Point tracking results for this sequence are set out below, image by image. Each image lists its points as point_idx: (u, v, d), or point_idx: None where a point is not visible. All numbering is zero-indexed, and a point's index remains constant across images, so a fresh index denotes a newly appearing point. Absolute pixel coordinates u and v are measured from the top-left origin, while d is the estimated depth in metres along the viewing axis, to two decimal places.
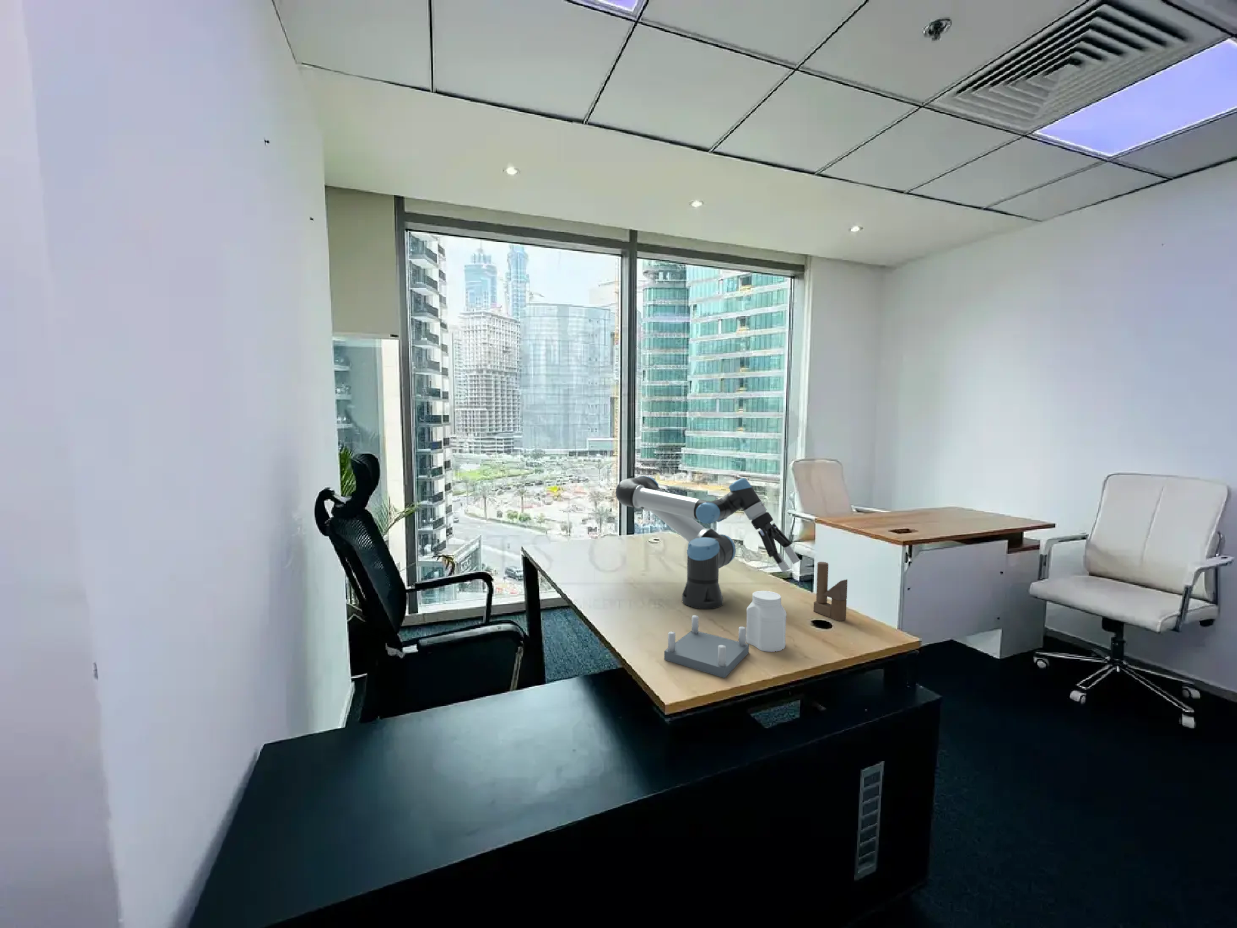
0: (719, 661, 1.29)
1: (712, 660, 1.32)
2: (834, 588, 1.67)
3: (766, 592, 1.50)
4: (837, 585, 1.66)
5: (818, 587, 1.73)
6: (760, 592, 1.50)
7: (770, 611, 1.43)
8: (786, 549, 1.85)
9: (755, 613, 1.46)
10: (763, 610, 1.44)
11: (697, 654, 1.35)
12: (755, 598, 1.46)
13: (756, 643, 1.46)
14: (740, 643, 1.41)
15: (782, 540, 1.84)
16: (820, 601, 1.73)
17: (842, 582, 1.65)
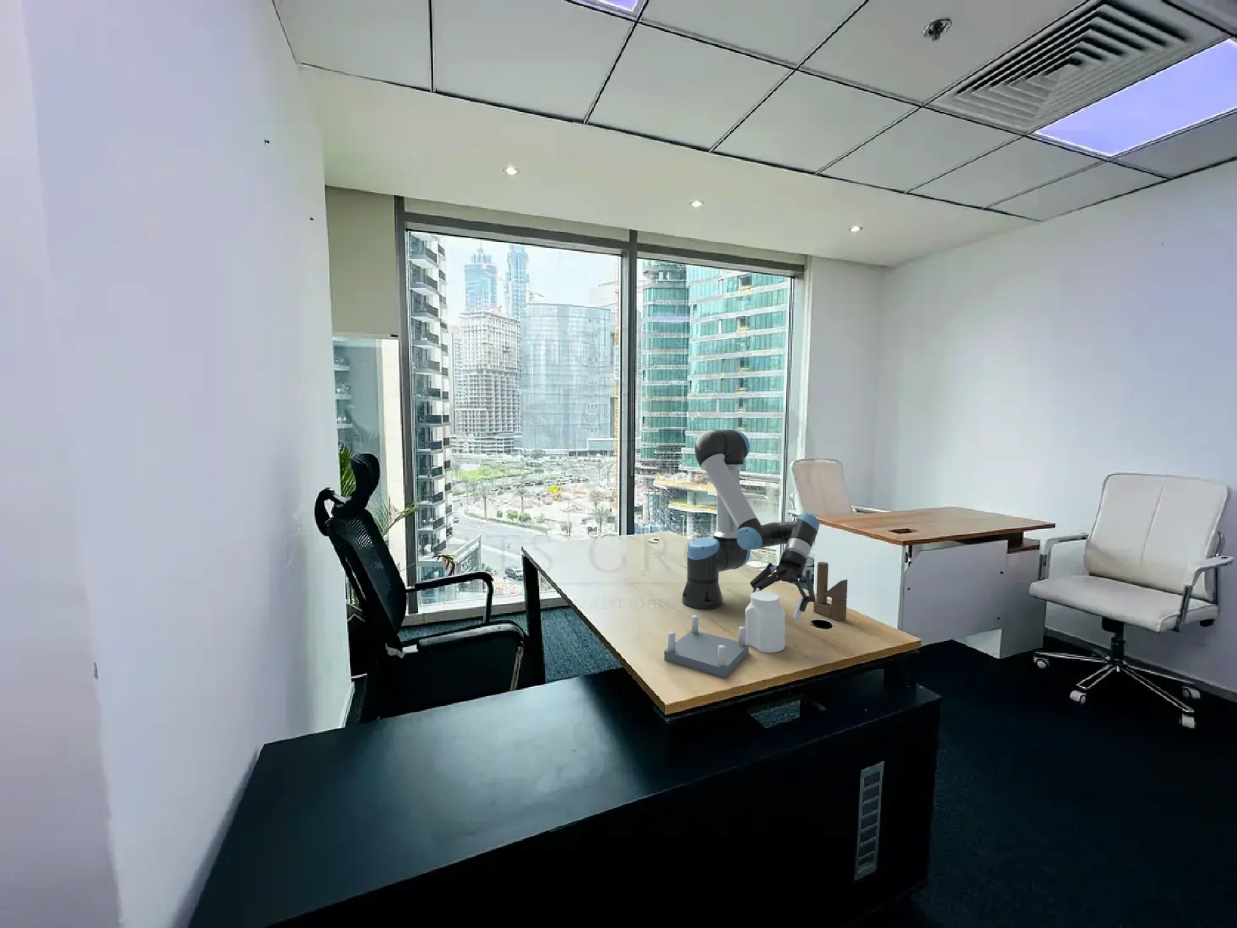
0: (719, 661, 1.29)
1: (712, 660, 1.32)
2: (834, 588, 1.67)
3: (764, 592, 1.49)
4: (837, 585, 1.66)
5: (818, 587, 1.73)
6: (758, 593, 1.49)
7: (769, 612, 1.42)
8: None
9: (754, 614, 1.45)
10: (763, 612, 1.42)
11: (697, 654, 1.35)
12: (754, 600, 1.45)
13: (756, 645, 1.45)
14: (740, 643, 1.41)
15: (768, 585, 1.56)
16: (820, 601, 1.73)
17: (842, 582, 1.65)
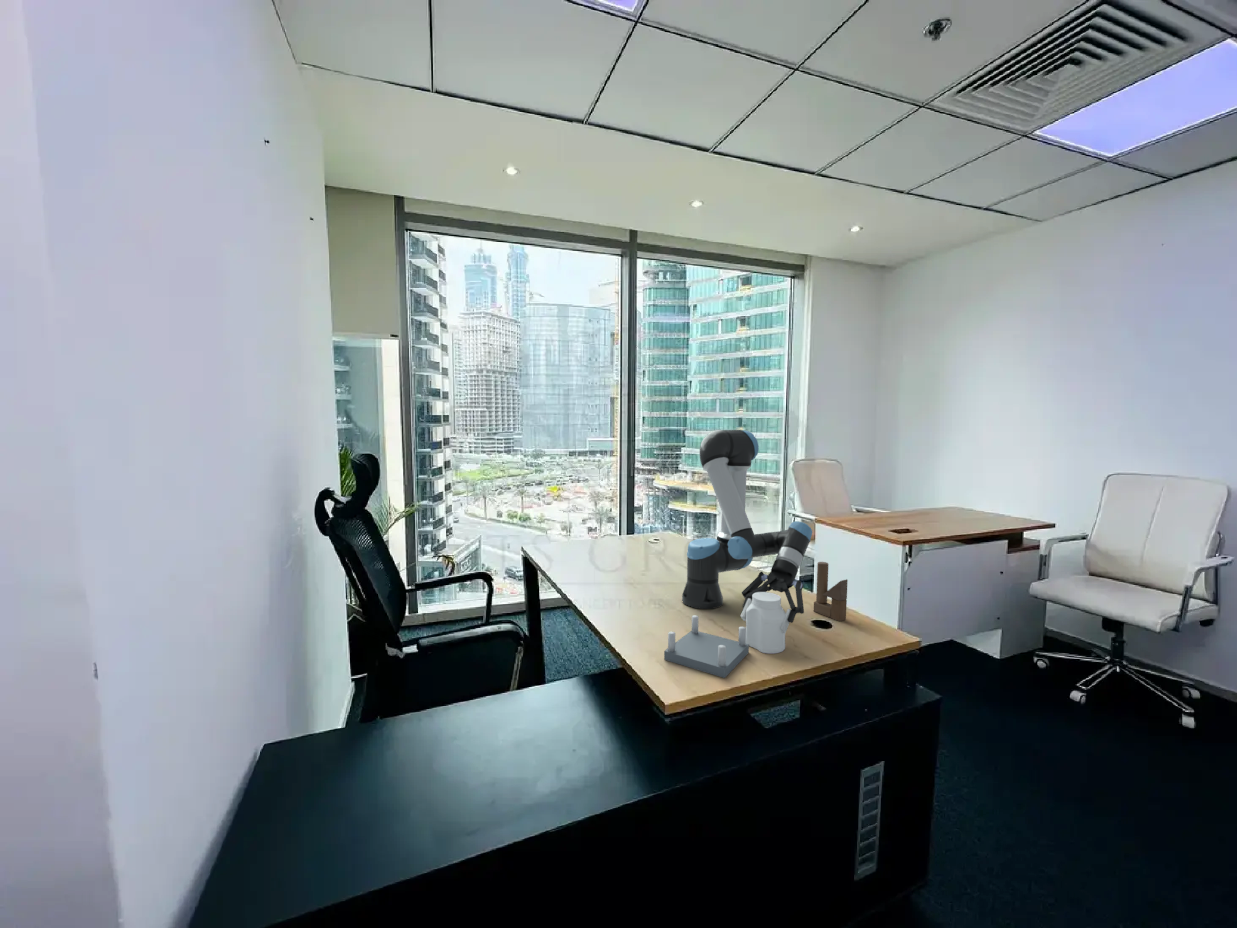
0: (719, 661, 1.29)
1: (712, 660, 1.32)
2: (834, 588, 1.67)
3: (765, 593, 1.49)
4: (837, 585, 1.66)
5: (818, 587, 1.73)
6: (759, 593, 1.49)
7: (771, 613, 1.42)
8: (750, 601, 1.53)
9: (756, 615, 1.44)
10: (765, 612, 1.42)
11: (697, 654, 1.35)
12: (756, 600, 1.44)
13: (757, 645, 1.44)
14: (740, 643, 1.41)
15: None
16: (820, 601, 1.73)
17: (842, 582, 1.65)
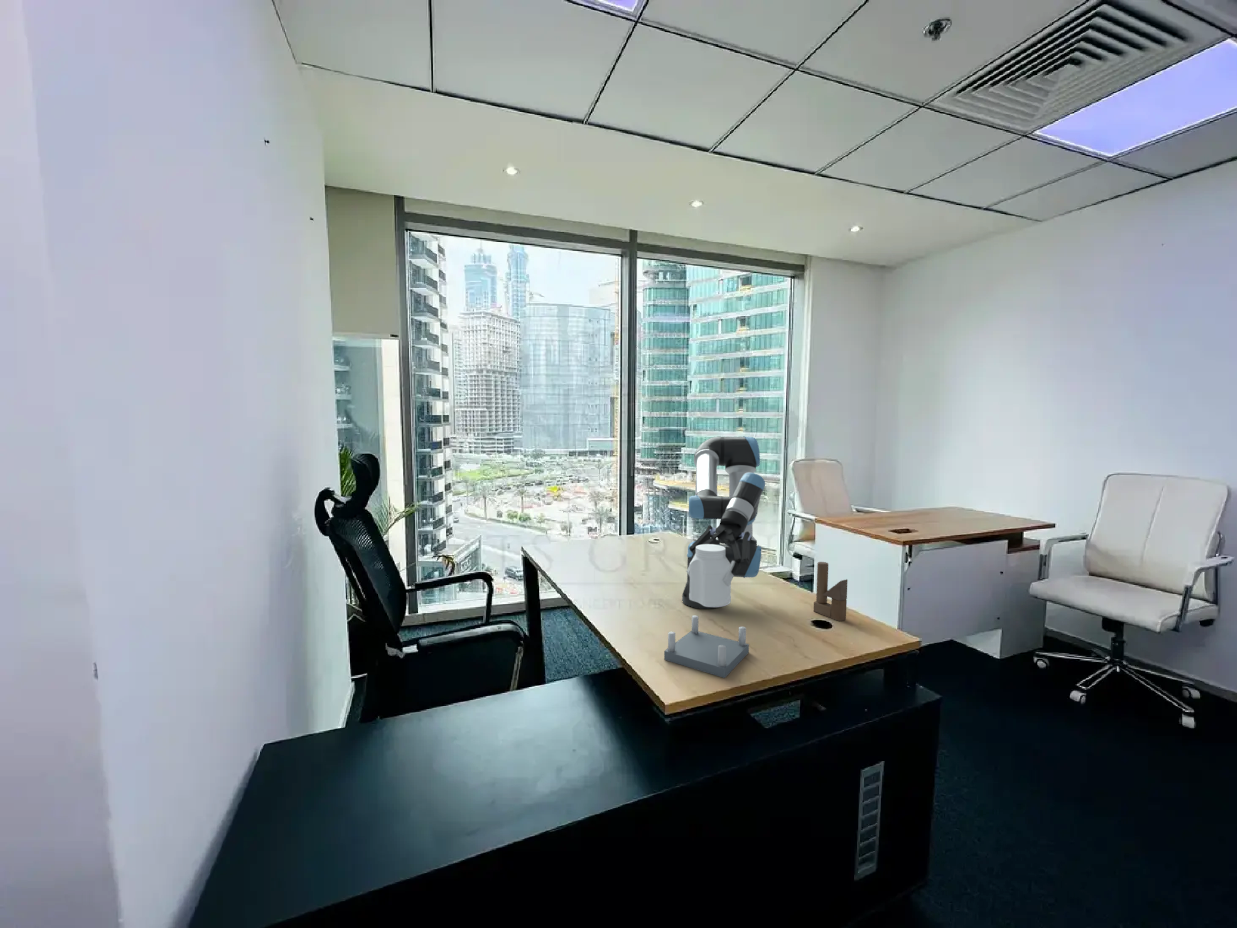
0: (719, 661, 1.29)
1: (712, 660, 1.32)
2: (834, 588, 1.67)
3: (710, 545, 1.40)
4: (837, 585, 1.66)
5: (818, 587, 1.73)
6: (704, 545, 1.39)
7: (714, 563, 1.33)
8: None
9: (698, 567, 1.35)
10: (707, 563, 1.33)
11: (697, 654, 1.35)
12: (698, 551, 1.35)
13: (700, 599, 1.35)
14: (740, 643, 1.41)
15: None
16: (820, 601, 1.73)
17: (842, 582, 1.65)
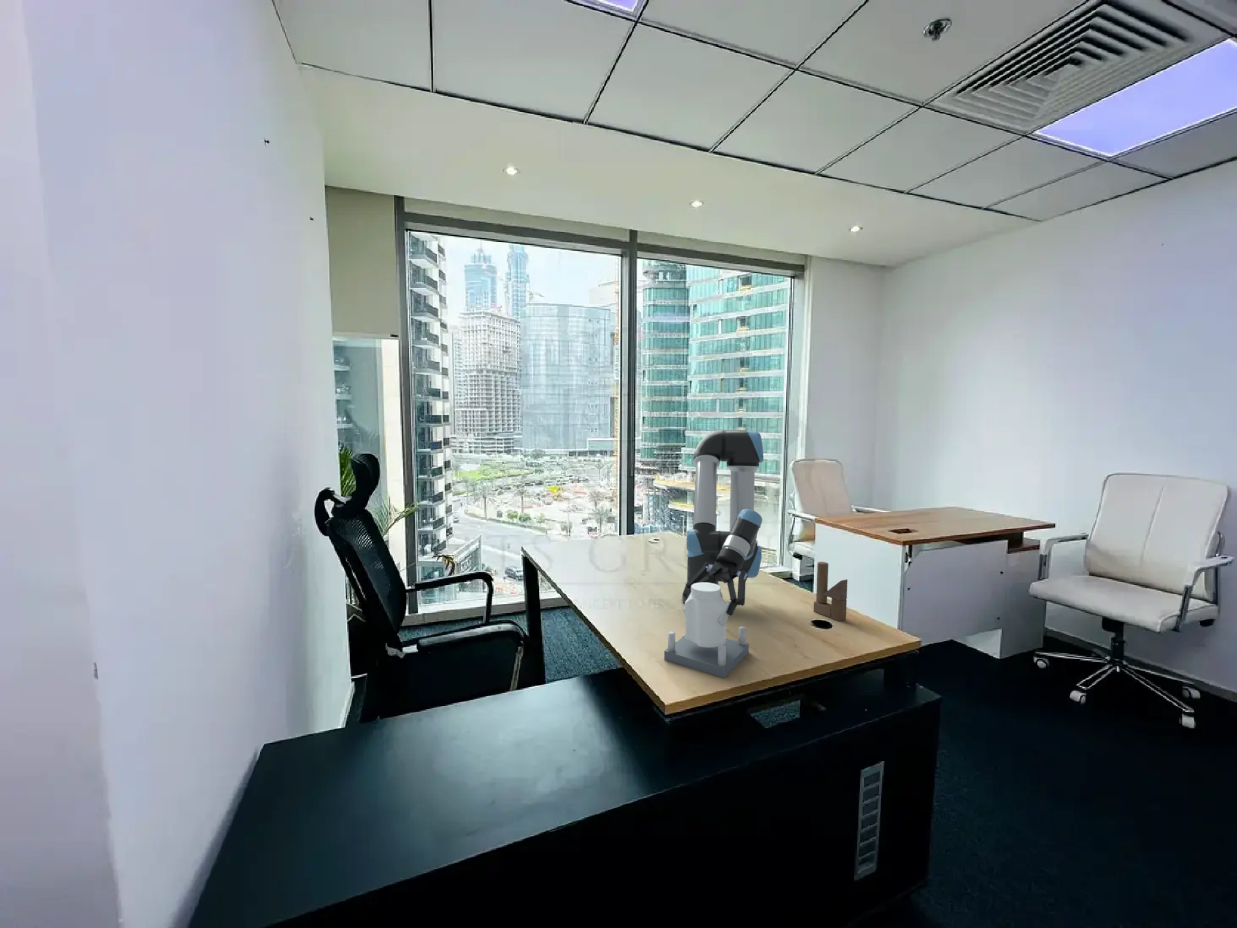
0: (719, 661, 1.29)
1: (712, 660, 1.32)
2: (834, 588, 1.67)
3: (706, 583, 1.40)
4: (837, 585, 1.66)
5: (818, 587, 1.73)
6: (699, 584, 1.40)
7: (709, 603, 1.33)
8: None
9: (694, 606, 1.35)
10: (702, 603, 1.33)
11: (697, 654, 1.35)
12: (693, 590, 1.36)
13: (695, 639, 1.35)
14: (740, 643, 1.41)
15: None
16: (820, 601, 1.73)
17: (842, 582, 1.65)
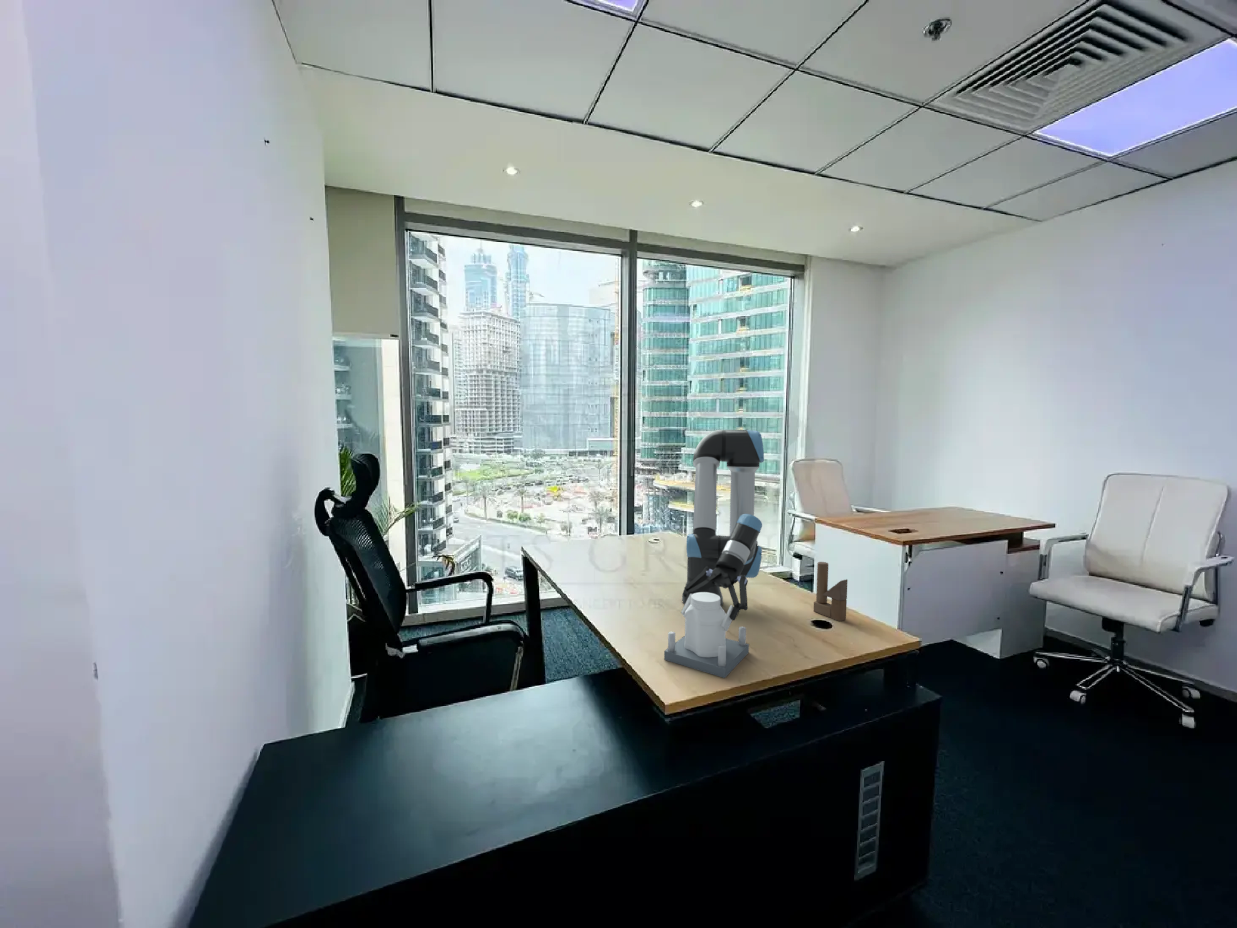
0: (719, 661, 1.29)
1: (712, 660, 1.32)
2: (834, 588, 1.67)
3: (706, 593, 1.41)
4: (837, 585, 1.66)
5: (818, 587, 1.73)
6: (699, 594, 1.41)
7: (708, 614, 1.34)
8: None
9: (693, 616, 1.36)
10: (701, 613, 1.34)
11: None
12: (693, 600, 1.37)
13: (694, 648, 1.36)
14: (740, 643, 1.41)
15: (702, 590, 1.46)
16: (820, 601, 1.73)
17: (842, 582, 1.65)
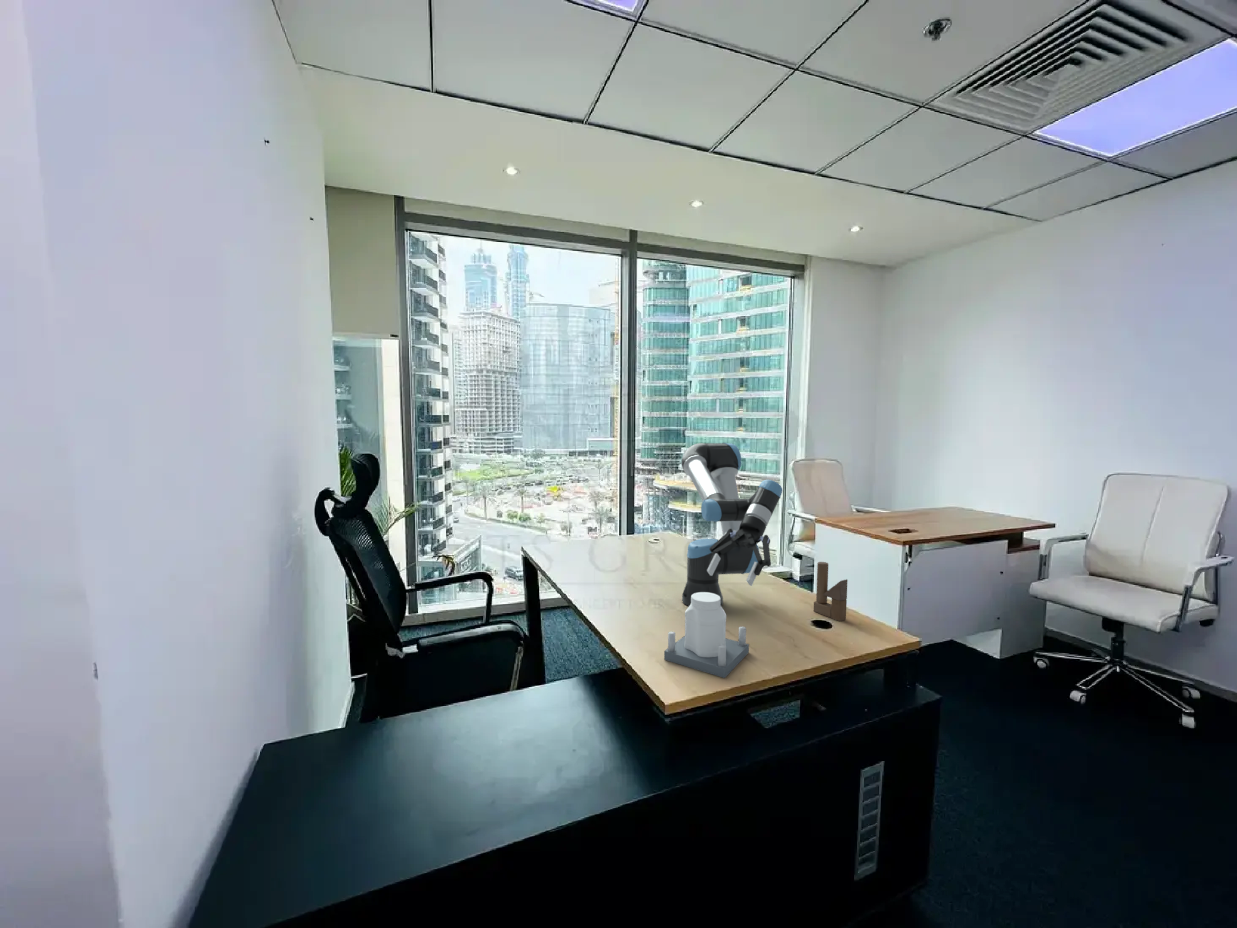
0: (719, 661, 1.29)
1: (712, 660, 1.32)
2: (834, 588, 1.67)
3: (706, 593, 1.41)
4: (837, 585, 1.66)
5: (818, 587, 1.73)
6: (699, 594, 1.41)
7: (708, 614, 1.34)
8: (717, 557, 1.53)
9: (693, 616, 1.36)
10: (702, 613, 1.34)
11: None
12: (693, 600, 1.37)
13: (694, 648, 1.36)
14: (740, 643, 1.41)
15: (727, 550, 1.54)
16: (820, 601, 1.73)
17: (842, 582, 1.65)
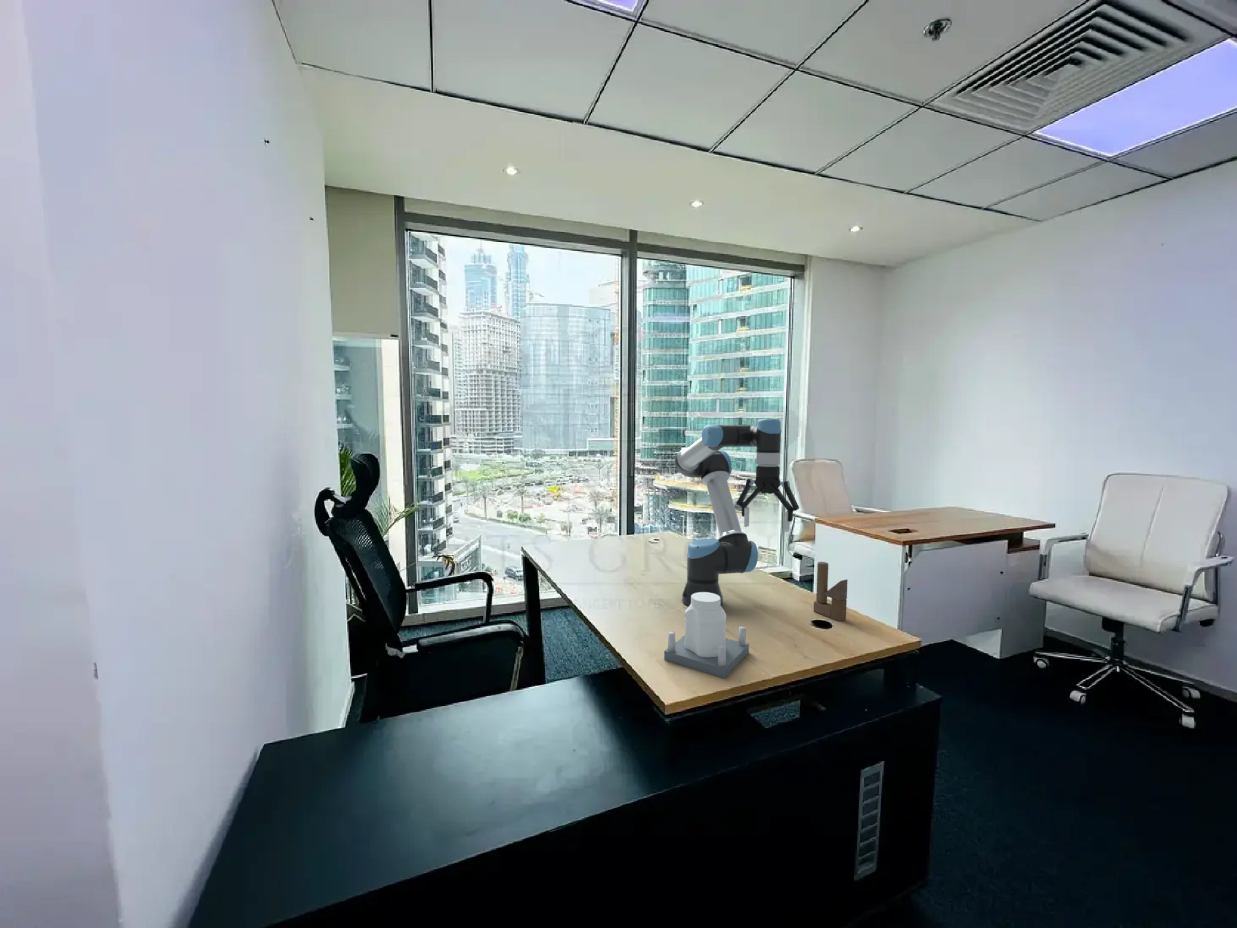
0: (719, 661, 1.29)
1: (712, 660, 1.32)
2: (834, 588, 1.67)
3: (706, 593, 1.41)
4: (837, 585, 1.66)
5: (818, 587, 1.73)
6: (699, 594, 1.41)
7: (708, 614, 1.34)
8: (747, 509, 1.67)
9: (693, 616, 1.36)
10: (702, 613, 1.34)
11: None
12: (693, 600, 1.37)
13: (694, 648, 1.36)
14: (740, 643, 1.41)
15: (752, 499, 1.67)
16: (820, 601, 1.73)
17: (842, 582, 1.65)
